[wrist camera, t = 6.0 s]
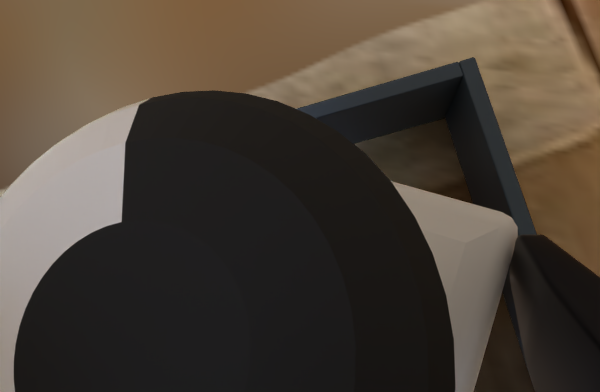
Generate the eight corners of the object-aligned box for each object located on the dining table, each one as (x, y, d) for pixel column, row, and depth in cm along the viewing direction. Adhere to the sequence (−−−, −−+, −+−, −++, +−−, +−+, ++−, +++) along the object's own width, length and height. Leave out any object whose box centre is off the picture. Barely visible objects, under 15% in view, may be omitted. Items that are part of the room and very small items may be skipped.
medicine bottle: (483, 261, 15) (636, 91, 4) (414, 496, 14) (366, 1135, 3) (277, 197, 18) (10, -29, 6) (203, 397, 17) (-279, 553, 5)
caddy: (567, 442, 17) (628, 491, 13) (214, 519, 18) (170, 585, 14) (453, 102, 19) (475, 56, 15) (151, 188, 20) (98, 165, 16)
